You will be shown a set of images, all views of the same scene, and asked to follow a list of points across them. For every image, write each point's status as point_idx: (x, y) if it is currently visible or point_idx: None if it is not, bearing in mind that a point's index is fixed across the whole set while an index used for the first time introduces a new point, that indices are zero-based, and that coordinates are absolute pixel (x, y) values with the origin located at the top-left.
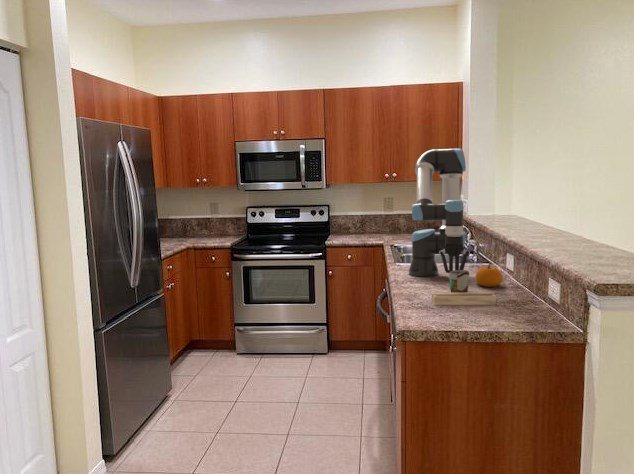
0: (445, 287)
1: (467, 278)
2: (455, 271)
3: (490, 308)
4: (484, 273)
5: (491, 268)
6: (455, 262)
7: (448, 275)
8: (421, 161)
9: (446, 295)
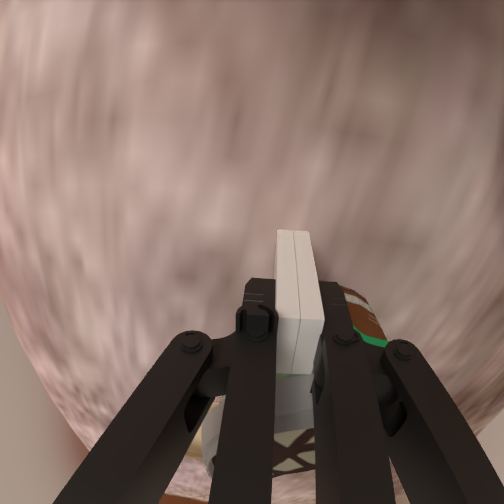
0: (255, 85)
1: None
2: (293, 420)
3: None
4: None
5: None
6: (327, 486)
7: (202, 442)
8: None
9: (188, 455)
